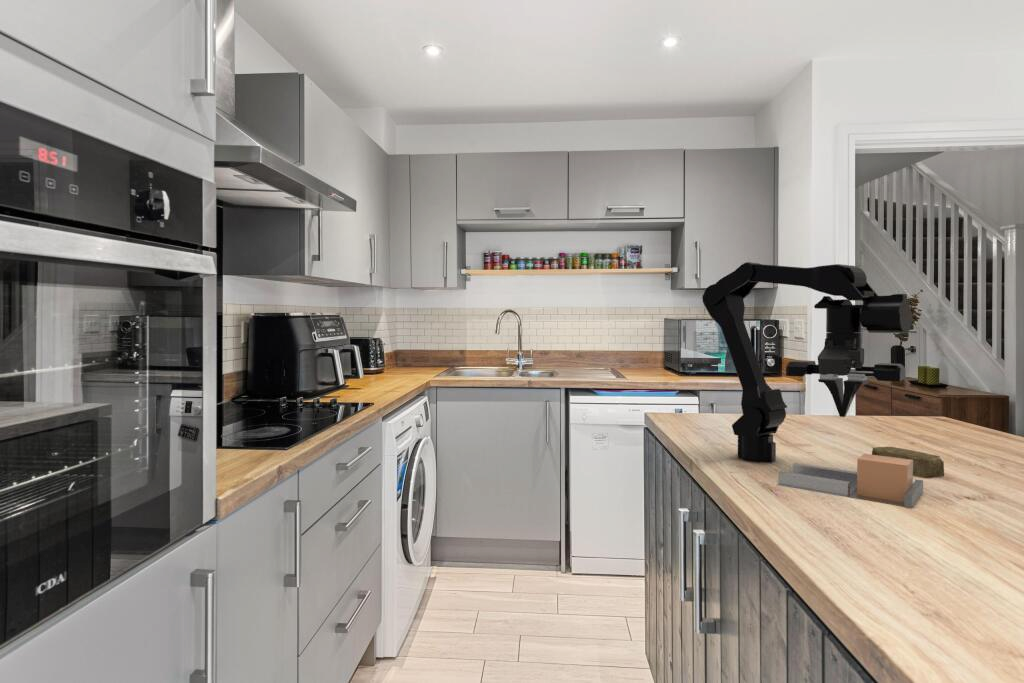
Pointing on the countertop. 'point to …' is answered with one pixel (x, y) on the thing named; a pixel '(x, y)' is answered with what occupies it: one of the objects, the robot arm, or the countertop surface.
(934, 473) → the stone block
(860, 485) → the block
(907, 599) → the countertop surface
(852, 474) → the chute
